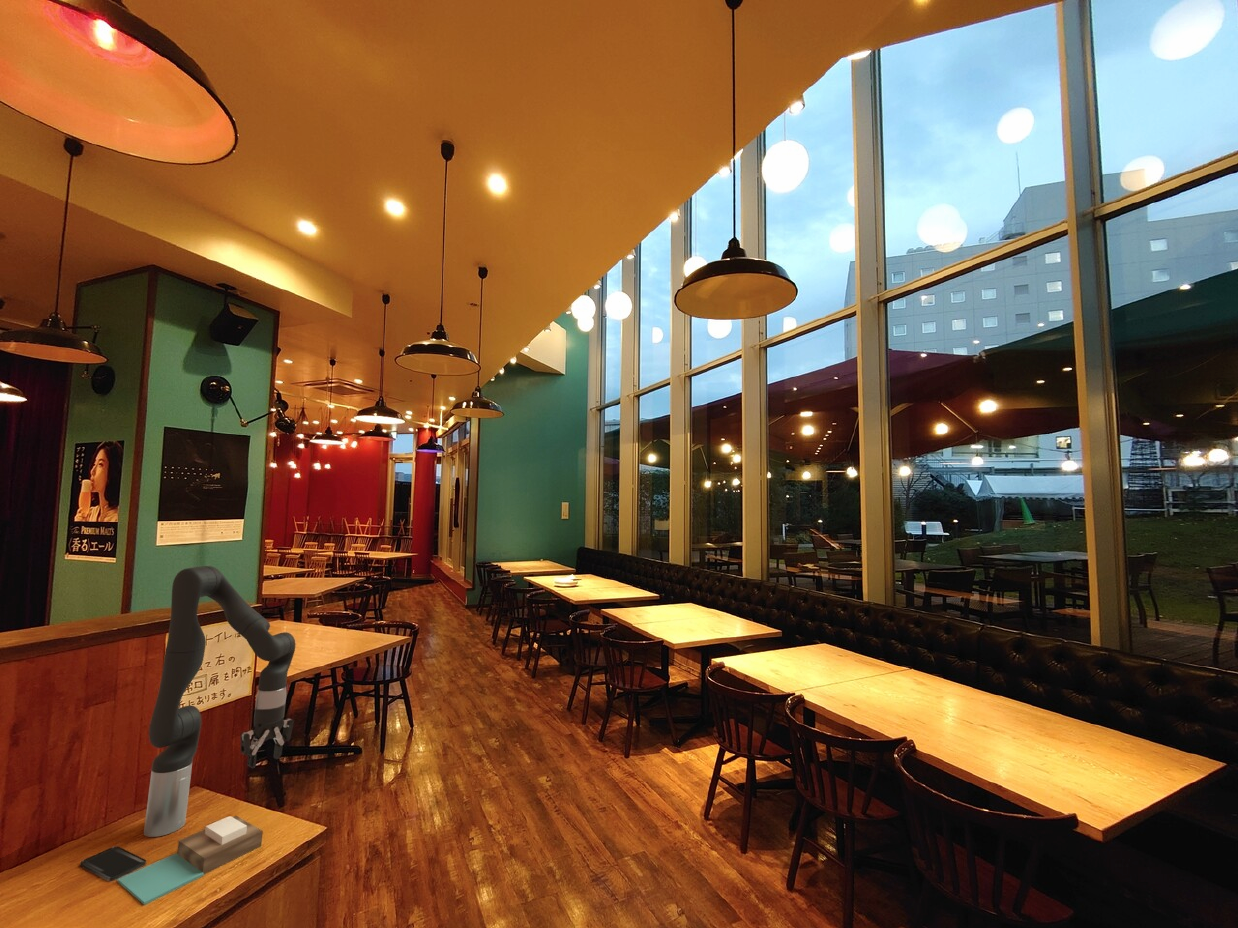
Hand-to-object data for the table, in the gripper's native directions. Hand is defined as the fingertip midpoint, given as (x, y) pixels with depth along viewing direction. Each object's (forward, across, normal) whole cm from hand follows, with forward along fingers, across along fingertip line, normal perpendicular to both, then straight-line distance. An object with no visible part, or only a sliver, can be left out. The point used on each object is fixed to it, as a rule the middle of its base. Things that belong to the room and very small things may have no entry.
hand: (264, 762), depth 154 cm
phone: (+20, +26, -16) cm, 37 cm away
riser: (+20, +9, 0) cm, 22 cm away
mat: (+20, +22, 0) cm, 30 cm away
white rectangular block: (+15, +8, 0) cm, 17 cm away
